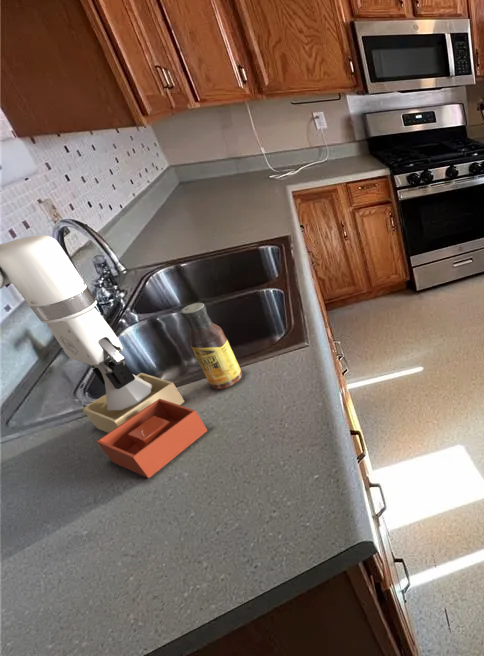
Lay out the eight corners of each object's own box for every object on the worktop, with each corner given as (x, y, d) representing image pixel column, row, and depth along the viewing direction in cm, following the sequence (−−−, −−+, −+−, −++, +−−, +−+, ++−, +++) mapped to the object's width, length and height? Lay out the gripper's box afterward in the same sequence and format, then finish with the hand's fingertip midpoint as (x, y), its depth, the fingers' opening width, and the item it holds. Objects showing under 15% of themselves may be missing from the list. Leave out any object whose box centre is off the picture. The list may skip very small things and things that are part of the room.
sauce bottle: (205, 389, 92) (163, 315, 83) (228, 370, 97) (191, 298, 88) (229, 392, 90) (188, 317, 81) (251, 373, 96) (215, 300, 86)
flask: (100, 416, 80) (70, 377, 76) (120, 390, 87) (94, 353, 82) (142, 406, 82) (115, 367, 77) (159, 382, 88) (135, 344, 83)
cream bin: (97, 428, 84) (81, 408, 81) (153, 391, 93) (141, 372, 90) (129, 441, 80) (114, 421, 78) (184, 401, 89) (173, 382, 86)
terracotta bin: (112, 462, 76) (95, 441, 74) (172, 418, 85) (159, 398, 82) (148, 478, 72) (132, 457, 70) (207, 430, 81) (195, 410, 78)
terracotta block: (140, 450, 77) (127, 434, 75) (165, 432, 81) (153, 415, 79) (155, 457, 76) (142, 440, 74) (179, 437, 79) (168, 421, 77)
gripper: (13, 309, 73) (73, 386, 82) (64, 323, 68) (123, 404, 76) (65, 288, 79) (116, 362, 88) (116, 299, 74) (165, 377, 82)
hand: (119, 381), depth 82 cm, fingers closed on flask, 3 cm apart
